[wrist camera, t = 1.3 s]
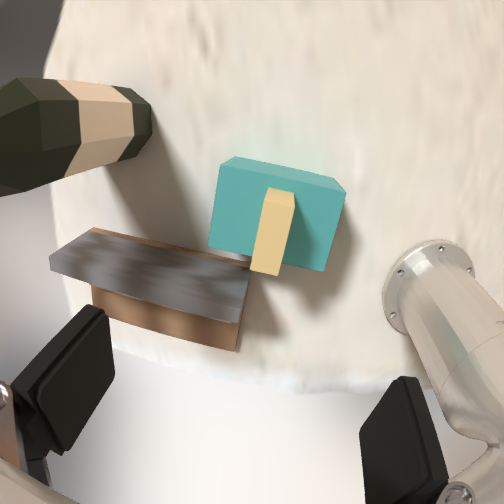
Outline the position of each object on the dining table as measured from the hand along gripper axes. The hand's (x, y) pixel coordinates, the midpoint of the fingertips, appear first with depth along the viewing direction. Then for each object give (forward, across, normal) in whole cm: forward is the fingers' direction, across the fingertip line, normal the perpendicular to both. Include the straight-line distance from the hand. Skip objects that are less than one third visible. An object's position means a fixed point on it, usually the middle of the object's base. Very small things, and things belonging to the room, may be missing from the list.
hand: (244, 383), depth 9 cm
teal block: (+24, 0, 0) cm, 24 cm away
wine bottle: (+24, +18, -5) cm, 31 cm away
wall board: (+24, +11, +13) cm, 30 cm away
